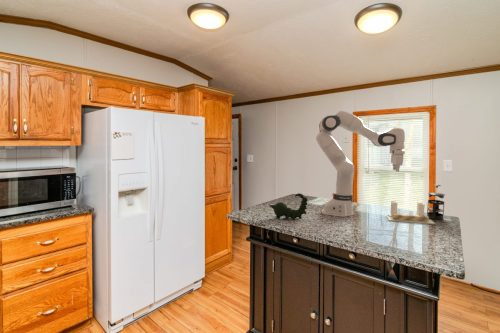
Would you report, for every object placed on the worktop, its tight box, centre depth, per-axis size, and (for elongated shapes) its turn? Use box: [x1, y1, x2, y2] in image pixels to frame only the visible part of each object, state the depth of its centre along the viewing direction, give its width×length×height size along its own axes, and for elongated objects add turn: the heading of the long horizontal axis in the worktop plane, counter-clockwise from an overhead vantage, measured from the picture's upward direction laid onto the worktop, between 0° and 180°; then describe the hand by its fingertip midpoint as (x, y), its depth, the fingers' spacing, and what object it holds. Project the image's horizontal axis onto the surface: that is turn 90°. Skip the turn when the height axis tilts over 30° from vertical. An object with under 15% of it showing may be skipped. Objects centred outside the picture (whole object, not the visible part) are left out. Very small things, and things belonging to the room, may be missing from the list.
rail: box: [393, 213, 430, 222], centre depth 173 cm, size 20×3×3 cm, turn 72°
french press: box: [426, 184, 446, 222], centre depth 177 cm, size 12×9×23 cm
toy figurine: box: [269, 192, 308, 220], centre depth 180 cm, size 9×19×25 cm
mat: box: [386, 216, 436, 225], centre depth 174 cm, size 26×8×1 cm, turn 72°
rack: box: [388, 200, 426, 217], centre depth 182 cm, size 22×5×10 cm, turn 72°
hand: (395, 170), depth 186 cm, fingers open, 8 cm apart
